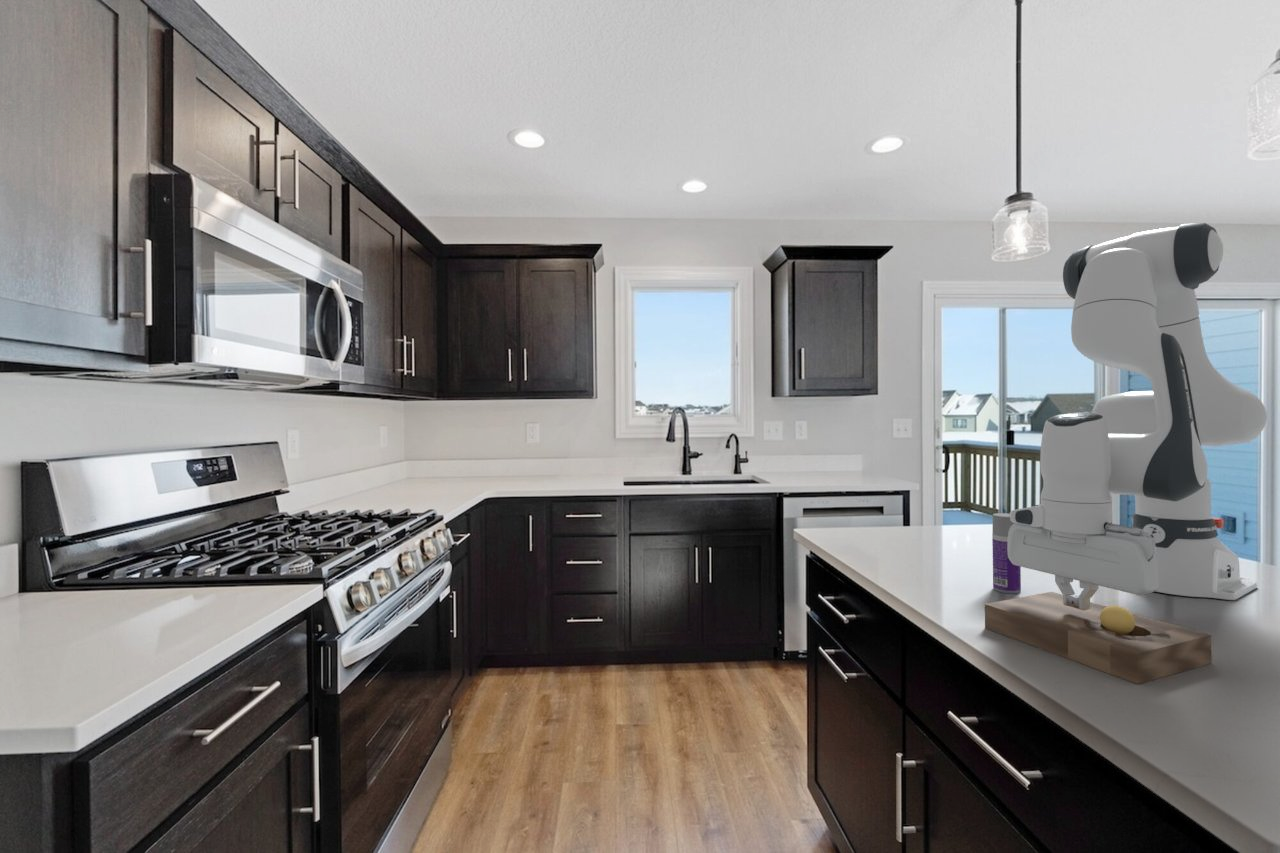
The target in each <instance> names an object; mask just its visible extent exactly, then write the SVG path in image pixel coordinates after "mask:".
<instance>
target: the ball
mask: <svg viewBox="0 0 1280 853" xmlns="http://www.w3.org/2000/svg"><path fill="white" fill-rule="evenodd" d="M1131 613H1132V612H1130V611H1129V610H1128V609H1127V608H1125V607H1122V606H1119V605H1108V606H1107V607H1106V608H1104V609H1103V610H1102V611H1101V613H1100V621H1101V624H1102V625H1103V626H1104V628H1105V629H1107V630H1108V631H1112V632H1115V633H1118V634H1127V633H1129V632H1131V631H1132V630H1133V629H1134V627H1135V619H1134V617H1133V615H1132V614H1131Z"/></svg>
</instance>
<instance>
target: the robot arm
mask: <svg viewBox="0 0 1280 853" xmlns="http://www.w3.org/2000/svg"><path fill="white" fill-rule="evenodd" d="M1223 244H1224V243H1223V241H1222V239H1221V237H1220V235H1219V233H1218V232H1217V230H1216V228H1215V227H1213V226H1211V225H1210V224H1209V223H1206V222H1191V223H1182V224H1180V225H1179V226H1173V227H1165V228H1164V227H1163V228H1159V229H1152V230H1146V231H1141V232H1135V233H1133V234H1131V235H1128V236H1124V237H1119V238H1116V239H1113V240H1109V241H1106V242H1102V243H1099V244H1097V245H1088V246H1085V247H1083V248H1081V249H1078V250H1076V251H1074V252H1072V253H1071V255H1070V256H1069V257H1068V258H1067V259H1066V261H1065V262H1064V265H1063V270H1062V281H1063V286H1064V290H1065V291H1066V294H1067V295H1068V296H1069V297H1070V298H1071V299H1072V300H1073V299H1074V303H1073V308H1072V315H1071V316H1072V317H1071V323H1070V324H1071V326H1070V328H1071V330H1070V332H1071V341H1072V343H1073V345H1074V347H1075V349H1076V350H1077V351H1078V352H1079V353H1080V354H1081V355H1082V356H1084V358H1085V357H1086V358H1087V359H1088V360H1091V361H1093V362H1095V363H1098V364H1100V365H1103V366H1106V367H1110V368H1113V369H1118V370H1122V371H1126V372H1127V371H1128V372H1132V373H1135V374H1138V375H1141V376H1143V377H1145V378H1147V379H1148V380H1149V381H1150V383H1151V388H1152V390H1141V391H1140V390H1139V391H1138V390H1136V391H1126V392H1120V393H1115V394H1110V395H1105V396H1103V397H1101V398H1100V399H1098V400H1097V402H1096V403H1095V405H1094V406H1093V408H1092V410H1091V412H1068V413H1060V414H1056V415H1052V416H1051V417H1049V418H1047V420H1046V421H1045V422H1044V425H1043V430H1042V435H1041V443H1040V452H1039V455H1040V456H1039V457H1040V459H1039V461H1040V462H1039V463H1040V464H1039V468H1040V473H1041V477H1042V480H1043V485H1042V489H1041V492H1040V504H1034V505H1031V506H1029V507H1023V508H1017V509H1013V510H1011V511H1010V512H1009V514H1010V520H1011V522H1013V523H1015V524H1013V525H1012V526H1011V527H1010V529H1009V532H1008V545H1007V552H1008V558H1009V560H1010V561H1011V563H1012V564H1013V565H1016V566H1021V568H1025V569H1029V570H1033V571H1038V572H1042V573H1046V574H1049V575H1054V582H1055V585H1056V586H1057V588H1058V589H1059V591H1060V594H1062V595H1063V604H1064V605H1066V606H1070V607H1074V608H1077V609H1080V610H1084V611H1085V610H1089V609H1090V602H1091V599H1092V598H1093V596H1094V595H1095V594H1096V593H1097V591H1098V590H1099V587H1104V588H1107V589H1111V590H1117V591H1120V592H1125V593H1129V594H1131V595H1132V594H1133V595H1136V596H1143V595H1149V594H1152V593H1153V592H1157V593H1163V594H1168V595H1175V596H1182V597H1192V598H1196V597H1197V598H1210V599H1211V598H1212V599H1219V600H1228V601H1236V600H1238V599H1239V598H1241V597H1243V596H1245V595H1247V594H1248V593H1250V592H1251V591H1253V590H1255V589H1256V588H1257V589H1258V583H1257V582H1256V581H1254V580H1252V579H1251V580H1250V579H1247V578H1244V577H1241V572H1240V559H1239V557H1238V555H1237V554H1236V553H1235V552H1233V551H1232V550H1231V549H1230V548H1229V547H1227V546H1226V544H1224V543H1223V542H1222V541H1221V540H1220V539H1218V538H1217V537H1218V536H1219V534H1218V529H1223V528H1224V526H1225V520H1224V518H1220V517H1212V494H1211V492H1212V487H1211V486H1212V485H1211V481H1210V479H1209V477H1208V462H1207V458H1206V455H1205V452H1204V450H1203V447H1223V446H1233V445H1238V444H1239V445H1240V444H1246V443H1251V441H1253V440H1254V439H1256V438H1258V436H1259V435H1260V434H1261V432H1262V431H1263V430H1264V428H1265V427H1266V423H1267V409H1266V407H1265V405H1264V403H1263V402H1262V401H1261V399H1260V398H1259V397H1258V396H1256V394H1254V393H1253V392H1251V391H1249V390H1247V389H1244V388H1242V387H1239V386H1238V385H1236V384H1234V383H1233V382H1231V381H1230V380H1228V379H1226V378H1225V377H1224V376H1223V375H1222V374H1221V373H1220V372H1219V371H1218V370H1217V368H1215V367H1214V366H1213V364H1212V362H1211V361H1210V359H1209V357H1208V355H1207V352H1206V348H1205V343H1204V339H1203V334H1202V328H1201V318H1200V311H1199V302H1198V299H1197V295H1196V291H1195V290H1196V289H1197V288H1198V287H1199V286H1200V285H1201V284H1204V283H1205V282H1208V281H1210V279H1211V278H1212V277H1213V276H1215V275H1216V274H1217V272H1218V271H1219V269H1220V265H1221V262H1222V260H1223V257H1224V256H1223V255H1224V245H1223ZM1111 494H1112V495H1125V496H1127V495H1128V496H1134V506H1135V512H1134V513H1133V514H1132V518H1131V523H1132V526H1126V525H1123V524H1122V525H1121V524H1116V523H1113V499H1112V496H1111ZM1074 580H1075V581H1078V582H1079V588H1080V589H1082V590H1081V592H1080V594H1077V593H1075V591H1074V589H1073V587H1072V584H1071V583H1073V582H1074Z"/></svg>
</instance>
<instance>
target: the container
mask: <svg viewBox="0 0 1280 853" xmlns="http://www.w3.org/2000/svg"><path fill="white" fill-rule="evenodd" d="M1013 524H1015V523H1013V522H1011V520H1010V513H1008V512H1007V513H1006V512H1000V513H999V512H998V513H996V512H995V513H992V537H991V538H992V589H993V590H994V591H995V592H996V591H997V592H999V593H1004V594H1014V595H1015V594H1020V593H1021V592H1022V586H1021V585H1022V584H1021V583H1022V574H1021V573H1022V572H1021V571H1022V570H1021V568H1022V567H1021V566H1016V565H1013V564H1012V563H1011V561H1010V560H1009V558H1008V552H1007V545H1008V532H1009V529H1010V527H1011V526H1012V525H1013Z"/></svg>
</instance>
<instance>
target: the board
mask: <svg viewBox="0 0 1280 853" xmlns="http://www.w3.org/2000/svg"><path fill="white" fill-rule="evenodd" d="M1106 607H1108V606H1106V605H1102V604H1099V603H1095V602H1092V601H1090V609H1089V610H1085V611H1084V610H1080V609H1077V608H1074V607H1070V606H1066V605H1064V604H1063V594H1062V593H1058V592H1054V591H1048V592H1043V593H1036V594H1032V595H1027V596H1021V597H1015V598H1011V599H1010V598H1009V599H1004V600H999V601H993V602H989V603H984V629H986V630H989V631H992V632H994V633H998V634H1000V635H1003V636H1005V637H1009V638H1011V639H1013V640H1017V641H1019V642H1021V643H1025V644H1028V645H1029V646H1032V647H1035V648H1039V649H1041V650H1043V651H1047V652H1049V653H1051V654H1054V655H1057V656H1059V657H1062V658H1065V659H1068V660H1070V661H1071V660H1072V661H1074V662H1076V663H1079V664H1081V665H1084V666H1087V667H1090V668H1092V669H1095V670H1098V671H1101V672H1104V673H1107V674H1109V675H1112V676H1114V677H1117V678H1119V679H1123V680H1126V681H1128V682H1130V683H1134V684H1137V685H1140V684H1143V683H1148V682H1150V681H1154V680H1158V679H1161V678H1164V677H1170V676H1172V675H1175V674H1179V673H1182V672H1186V671H1189V670H1193V669H1196V668H1200V667H1203V666H1207V665H1210V664H1213V663H1212V658H1213V657H1212V634H1209V633H1207V632H1206V633H1205V632H1202V631H1198V630H1195V629H1192V628H1189V627H1184V626H1180V625H1176V624H1174V623H1169V622H1166V621H1161V620H1158V619H1155V618H1150V617H1148V616H1143V615H1139V614H1135V613H1132V612H1130V613H1131V614H1132V615H1133V617H1134V619H1135V627H1134V629H1133V630H1132V631H1131V632H1129V633H1127V634H1118V633H1115V632H1112V631H1108V630H1107V629H1105V628H1104V626H1103V625H1102V624H1101V621H1100V613H1101V611H1102V610H1103V609H1104V608H1106Z"/></svg>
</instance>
